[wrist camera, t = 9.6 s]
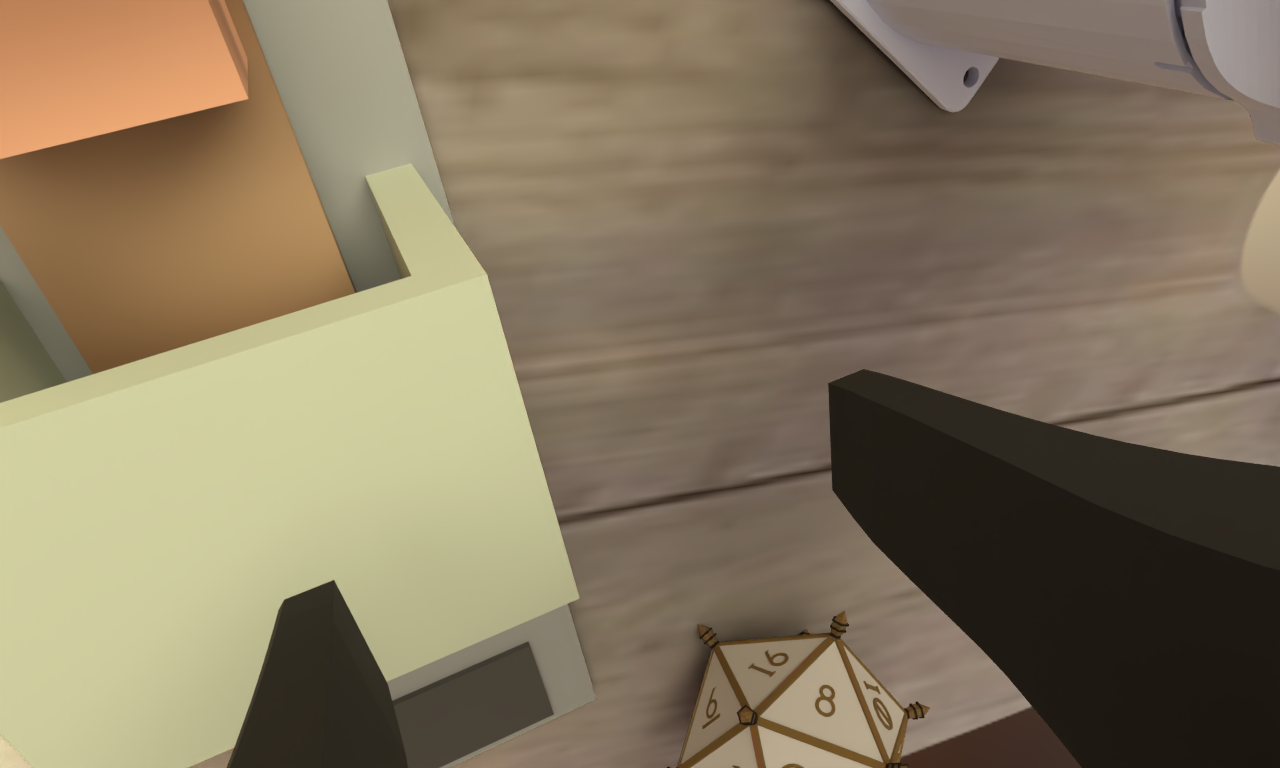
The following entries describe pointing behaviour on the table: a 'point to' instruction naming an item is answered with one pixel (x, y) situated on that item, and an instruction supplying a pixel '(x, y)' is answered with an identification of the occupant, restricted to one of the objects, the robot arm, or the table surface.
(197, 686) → the tunnel
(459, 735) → the pit
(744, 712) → the game die
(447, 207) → the track board
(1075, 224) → the table surface
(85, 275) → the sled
